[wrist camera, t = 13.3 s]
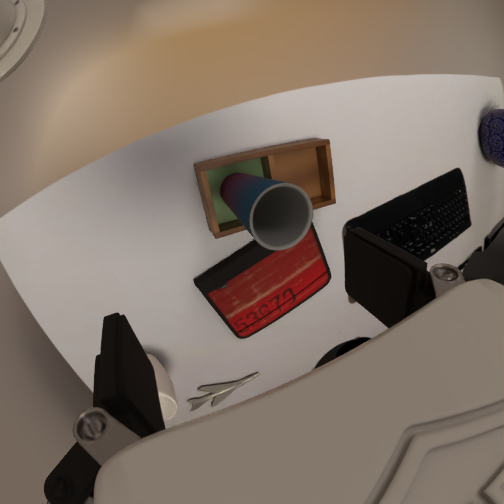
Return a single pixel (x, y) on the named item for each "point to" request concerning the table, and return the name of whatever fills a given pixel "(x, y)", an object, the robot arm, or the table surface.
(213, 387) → the toy airplane
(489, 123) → the planter
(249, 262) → the binder
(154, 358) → the mug
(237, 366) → the table surface
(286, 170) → the wooden compartment tray
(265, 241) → the cup
